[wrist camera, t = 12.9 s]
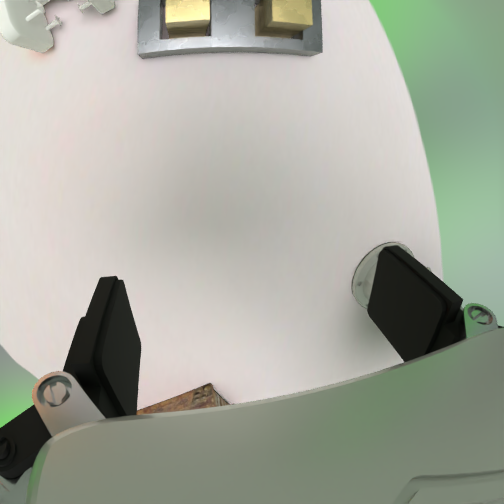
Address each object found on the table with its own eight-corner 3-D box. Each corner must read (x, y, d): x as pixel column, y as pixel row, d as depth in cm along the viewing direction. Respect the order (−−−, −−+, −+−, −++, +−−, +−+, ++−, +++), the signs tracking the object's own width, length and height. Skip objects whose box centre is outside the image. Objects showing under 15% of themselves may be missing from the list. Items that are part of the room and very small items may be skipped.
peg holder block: (309, 1, 28) (337, -18, 21) (310, 56, 32) (340, 47, 25) (143, 0, 25) (133, -25, 18) (142, 58, 28) (130, 46, 21)
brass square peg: (204, 8, 27) (209, -16, 20) (204, 37, 29) (209, 19, 22) (169, 11, 26) (165, -13, 19) (169, 40, 28) (165, 22, 21)
